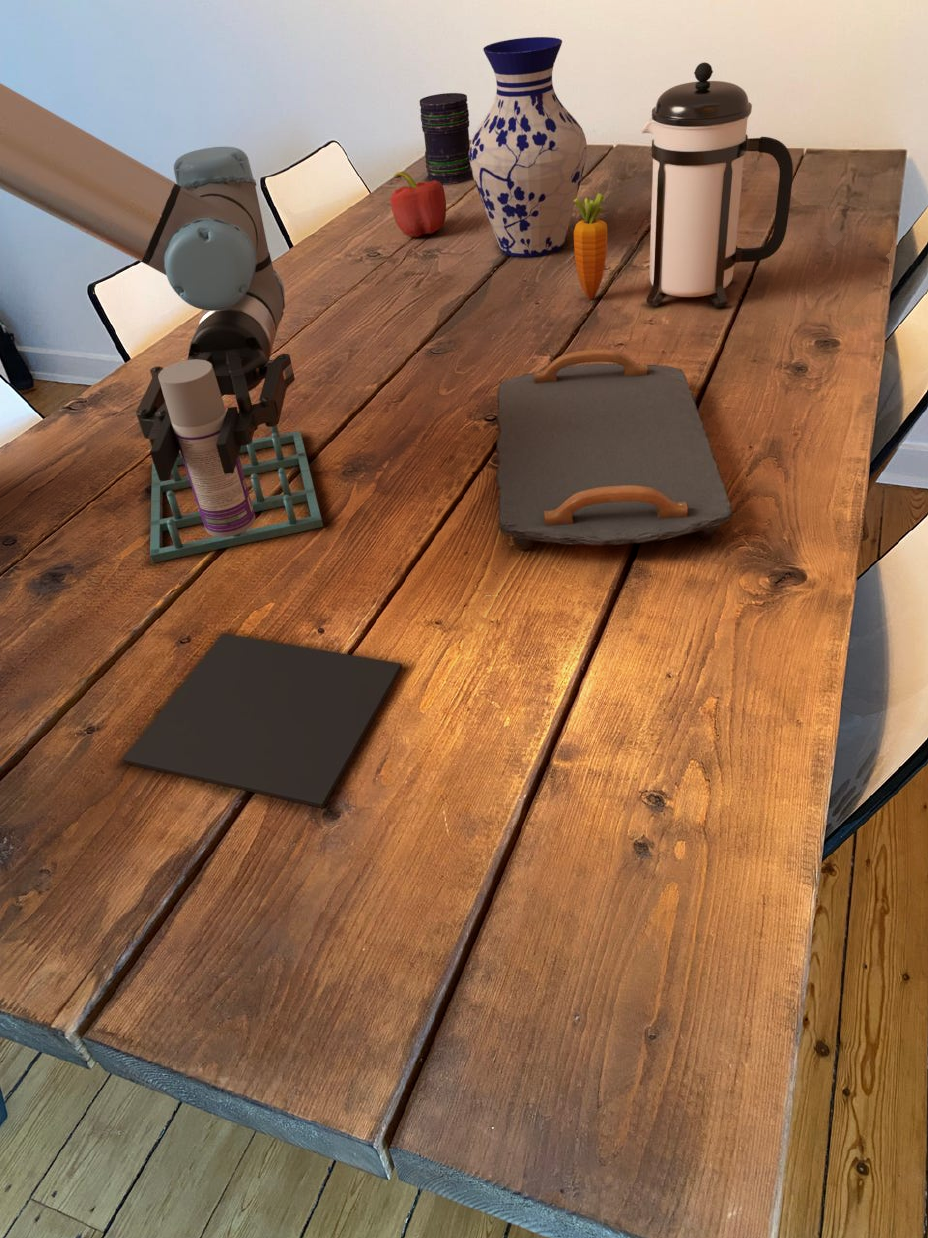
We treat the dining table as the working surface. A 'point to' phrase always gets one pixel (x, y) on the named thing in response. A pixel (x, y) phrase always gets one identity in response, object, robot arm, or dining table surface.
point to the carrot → (590, 245)
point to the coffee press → (704, 188)
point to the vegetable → (419, 206)
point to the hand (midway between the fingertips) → (192, 462)
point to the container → (205, 446)
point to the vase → (527, 150)
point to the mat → (267, 718)
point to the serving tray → (604, 455)
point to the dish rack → (258, 505)
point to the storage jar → (446, 137)
